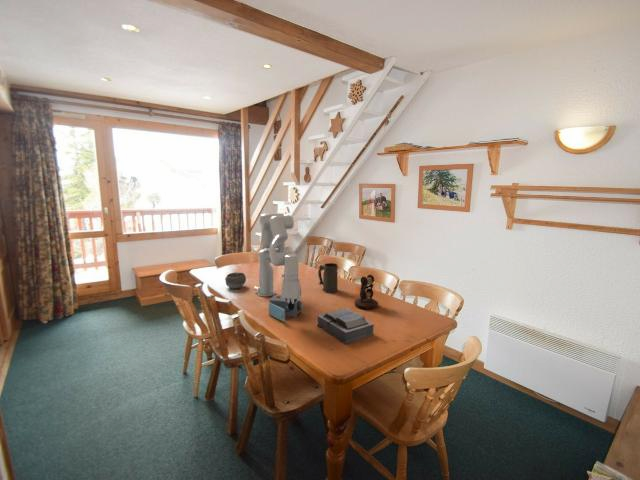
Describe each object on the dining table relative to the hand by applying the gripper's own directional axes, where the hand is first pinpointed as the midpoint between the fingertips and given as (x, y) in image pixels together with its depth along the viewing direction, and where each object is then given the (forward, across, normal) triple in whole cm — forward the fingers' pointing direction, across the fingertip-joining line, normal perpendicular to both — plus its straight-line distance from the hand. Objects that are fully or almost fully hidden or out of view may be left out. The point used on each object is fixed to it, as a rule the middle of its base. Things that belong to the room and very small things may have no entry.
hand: (291, 309), depth 172 cm
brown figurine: (+8, +40, +36) cm, 54 cm away
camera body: (+8, -6, +13) cm, 16 cm away
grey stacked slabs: (+9, +30, -2) cm, 31 cm away
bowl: (+7, -55, +49) cm, 74 cm away
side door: (+7, -10, +3) cm, 13 cm away
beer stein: (+7, +11, +60) cm, 61 cm away
